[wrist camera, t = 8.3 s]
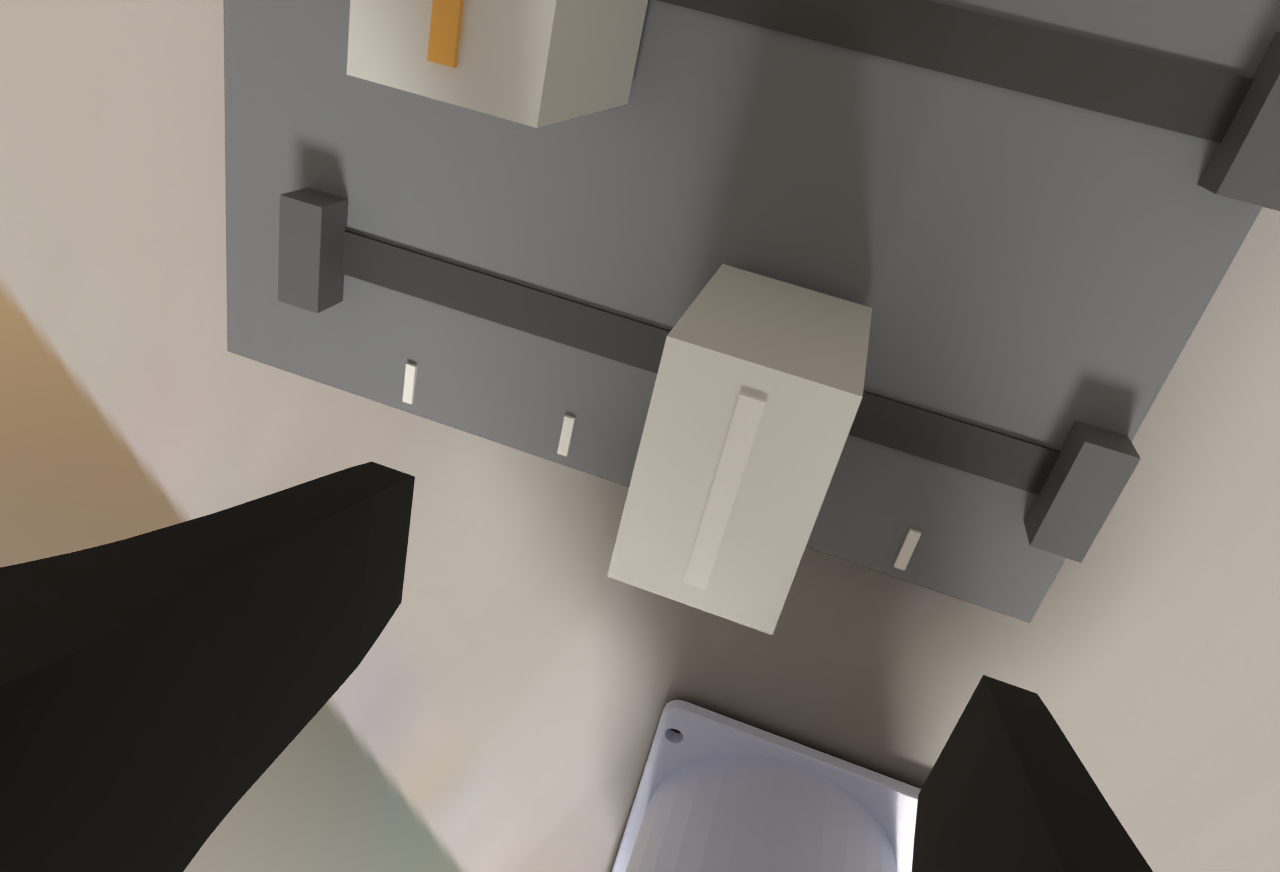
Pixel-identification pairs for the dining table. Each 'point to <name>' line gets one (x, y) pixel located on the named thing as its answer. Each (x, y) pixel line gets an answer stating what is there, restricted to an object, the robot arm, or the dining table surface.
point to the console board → (781, 241)
